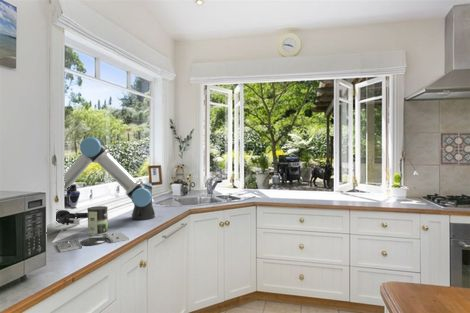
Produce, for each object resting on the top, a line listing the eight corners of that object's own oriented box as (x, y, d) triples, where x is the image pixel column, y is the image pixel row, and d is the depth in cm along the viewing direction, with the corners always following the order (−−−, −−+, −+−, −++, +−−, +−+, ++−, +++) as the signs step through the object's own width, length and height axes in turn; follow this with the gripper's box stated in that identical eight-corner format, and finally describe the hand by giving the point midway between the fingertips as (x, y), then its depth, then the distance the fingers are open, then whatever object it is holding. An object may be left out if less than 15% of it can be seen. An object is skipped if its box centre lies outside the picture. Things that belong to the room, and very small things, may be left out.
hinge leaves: (120, 233, 173) (120, 231, 173) (128, 239, 161) (128, 236, 161) (55, 244, 154) (55, 241, 154) (60, 251, 143) (60, 248, 143)
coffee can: (108, 230, 181) (108, 205, 180) (107, 234, 171) (106, 208, 170) (89, 231, 178) (88, 206, 177) (86, 236, 168) (85, 210, 167)
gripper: (78, 218, 195) (105, 220, 187) (40, 228, 172) (70, 231, 164) (78, 206, 195) (105, 208, 187) (40, 214, 171) (69, 217, 164)
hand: (88, 219), depth 176 cm, fingers open, 13 cm apart
